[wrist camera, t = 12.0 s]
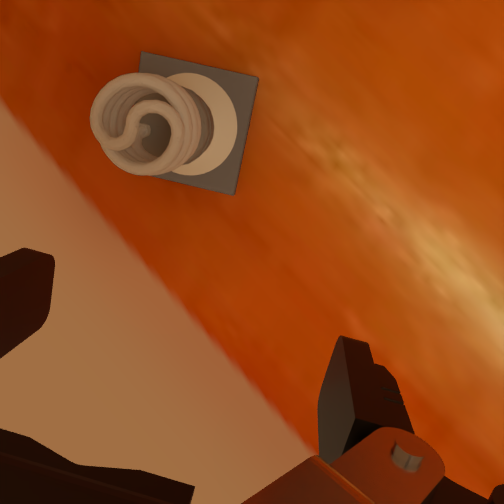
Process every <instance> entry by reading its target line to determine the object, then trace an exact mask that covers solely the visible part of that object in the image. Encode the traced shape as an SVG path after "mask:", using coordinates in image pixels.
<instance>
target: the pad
mask: <svg viewBox="0 0 504 504" xmlns="http://www.w3.org/2000/svg"><path fill="white" fill-rule="evenodd" d="M138 73H150V74H157V75H160V76H163V77H165V78H167V79H170V80H172V81H174V82H176V83H177V84H179V85H180V86H183V87H185V88H188V89H190V90H193V91H194V92H195V93H196V94H197V95H199V96H200V97H201V98H202V99H203V100H204V102H205V103H206V104H207V105H208V107H209V108H210V110H211V113H212V116H213V121H214V134H213V139H212V141H211V144H210V145H209V147H208V148H207V150H206V151H205V152H204V153H203V154H202V155H201V156H200V157H199V158H197V159H196V160H194V161H192V162H191V163H189V164H185V165H181V166H180V167H178V168H177V169H175V170H173V171H170V172H167V173H163V174H160V175H151V176H153V177H157V178H162V179H166V180H170V181H174V182H178V183H182V184H187V185H191V186H195V187H199V188H203V189H207V190H212V191H216V192H220V193H224V194H228V195H232V196H234V195H235V191H236V186H237V182H238V177H239V172H240V167H241V163H242V158H243V153H244V148H245V143H246V139H247V134H248V129H249V124H250V120H251V115H252V110H253V105H254V100H255V96H256V91H257V86H258V81H259V78H258V77H254V76H250V75H245V74H241V73H236V72H232V71H227V70H223V69H218V68H214V67H209V66H205V65H201V64H196V63H192V62H187V61H183V60H178V59H174V58H169V57H165V56H160V55H156V54H152V53H147V52H143V51H141V57H140V65H139V72H138ZM137 101H138V100H137ZM137 101H136V102H135V104H136V103H137ZM135 104H134V105H135Z"/></svg>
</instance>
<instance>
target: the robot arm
mask: <svg viewBox="0 0 504 504" xmlns="http://www.w3.org/2000/svg"><path fill="white" fill-rule="evenodd" d="M54 269H55V260H54V257H53V256H52V255H50V254H46V253H42V252H39V251H35V250H32V249H28V248H21V249H19V250H17V251H14V252H12V253H10V254H7V255H5V256H3V257H0V358H2V357H3V356H4V355H6V354H7V353H8V352H9V351H11V350H12V349H13V348H15V347H16V346H17V345H19V344H20V343H21V342H23V341H24V340H25V339H27V338H28V337H29V336H31V335H32V334H33V333H35V332H36V331H37V330H39V329H40V328H41V327H42V325H43V324H44V322H45V321H46V319H47V316H48V314H49V310H50V303H51V295H52V286H53V278H54ZM403 404H404V402H403V399H402V396H401V395H400V390H399V388H398V385H397V382H396V379H395V378H394V377H393V376H392V375H391V374H390V372H389V371H388V370H387V369H386V368H385V367H384V366H381V365H378V364H374V362H373V358H372V355H371V351H370V347H369V344H368V343H366V342H363V341H359V340H355V339H352V338H348V337H345V336H339V338H338V340H337V342H336V345H335V348H334V351H333V354H332V357H331V360H330V363H329V366H328V369H327V372H326V375H325V378H324V381H323V384H322V387H321V390H320V395H319V400H318V436H319V456H318V455H314V456H311V457H310V458H308V459H306V460H305V461H304V462H302V463H301V464H299V465H298V466H296V467H295V468H293V469H292V470H290V471H289V472H287V473H286V474H284V475H283V476H281V477H280V478H278V479H277V480H275V481H274V482H272V483H271V484H269V485H268V486H266V487H265V488H264V489H262V490H261V491H259V492H258V493H256V494H255V495H253V496H252V497H250V498H249V499H247V500H246V501H244V502H243V503H241V504H504V484H502V485H498V486H497V487H495V488H494V490H493V491H492V493H491V495H490V497H489V499H486V498H484V497H482V496H480V495H478V494H476V493H474V492H472V491H470V490H468V489H466V488H464V487H462V486H460V485H459V484H457V483H455V482H453V481H451V480H450V479H448V478H447V477H445V476H444V474H445V466H444V463H443V461H442V459H441V457H440V456H439V454H438V453H437V452H436V451H435V450H434V449H433V448H432V447H431V446H430V445H429V444H428V443H427V442H425V441H424V440H423V439H421V438H419V437H418V436H416V435H415V434H414V431H413V428H412V425H411V422H410V419H409V416H408V414H407V411H406V408H405V405H403ZM194 489H195V486H192V485H188V484H185V483H182V482H178V481H175V480H171V479H168V478H165V477H161V476H158V475H155V474H152V473H148V472H145V471H141V470H131V469H119V468H106V467H95V466H83V465H78V464H75V463H73V462H71V461H69V460H67V459H66V458H64V457H62V456H60V455H59V454H57V453H55V452H54V451H52V450H50V449H49V448H47V447H45V446H43V445H41V444H40V443H38V442H37V441H35V440H33V439H32V438H30V437H26V436H24V435H20V434H17V433H14V432H10V431H7V430H3V429H0V504H191V500H192V496H193V493H194Z"/></svg>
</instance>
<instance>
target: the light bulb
mask: <svg viewBox="0 0 504 504" xmlns="http://www.w3.org/2000/svg"><path fill="white" fill-rule="evenodd" d="M137 100H138V101H137ZM136 101H137V103H136V104H135V102H136ZM134 104H135V105H134ZM133 105H134V106H133ZM132 106H133V107H132ZM131 107H132V108H131ZM90 124H91V129H92V131H93V133H94V136H95V138H96V139H97V140H98V141H99V142H100V144H101V147H102V149H103V150H104V152H105V153H106V155H107V157H108V158H109V159H110V160H111V161H112V162H113V163H114V164H115V165H116V166H118V167H119V168H120V169H122V170H124V171H126V172H129V173H132V174H135V175H149V176H151V175H160V174H163V173H167V172H170V171H173V170H175V169H177V168H178V167H180V166H181V165H185V164H189V163H191V162H192V161H194V160H196V159H197V158H199V157H200V156H201V155H202V154H203V153H204V152H205V151H206V150H207V148H208V147H209V145H210V144H211V141H212V139H213V134H214V121H213V116H212V113H211V110H210V108H209V107H208V105H207V104H206V103H205V102H204V100H203V99H202V98H201V97H200V96H199V95H197V94H196V93H195V92H194V91H193V90H190V89H188V88H185V87H183V86H180V85H179V84H177V83H176V82H174V81H172V80H170V79H167V78H165V77H163V76H160V75H157V74H150V73H129V74H125V75H121V76H119V77H117V78H115V79H113V80H112V81H110V82H108V83H107V84H106V85H105V86H104V87H103V88H102V89H101V90H100V92H99V93H98V95H97V96H96V98H95V100H94V102H93V105H92V107H91V112H90Z"/></svg>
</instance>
